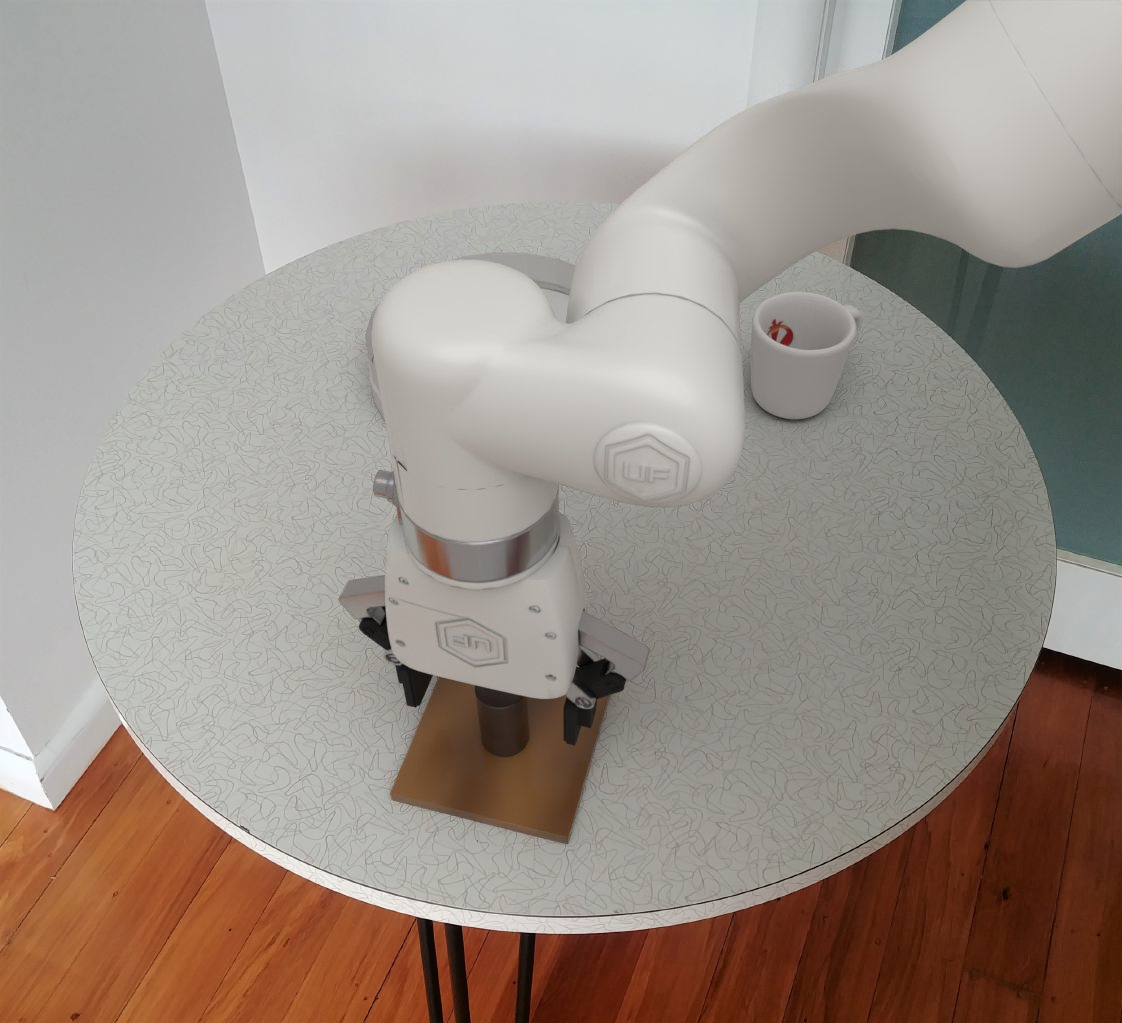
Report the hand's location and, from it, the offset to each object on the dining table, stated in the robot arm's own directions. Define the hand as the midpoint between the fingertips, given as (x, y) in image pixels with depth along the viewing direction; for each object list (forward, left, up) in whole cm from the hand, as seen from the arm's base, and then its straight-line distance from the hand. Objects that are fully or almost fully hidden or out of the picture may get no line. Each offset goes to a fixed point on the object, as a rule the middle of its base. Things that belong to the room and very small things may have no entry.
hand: (498, 705), depth 63 cm
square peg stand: (0, 0, -4) cm, 4 cm away
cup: (-14, -38, -5) cm, 41 cm away
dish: (+11, -34, -4) cm, 36 cm away
